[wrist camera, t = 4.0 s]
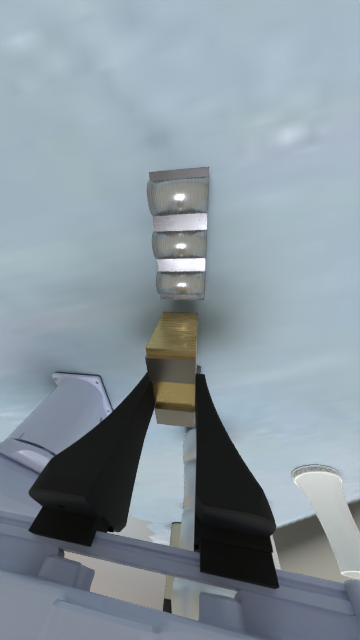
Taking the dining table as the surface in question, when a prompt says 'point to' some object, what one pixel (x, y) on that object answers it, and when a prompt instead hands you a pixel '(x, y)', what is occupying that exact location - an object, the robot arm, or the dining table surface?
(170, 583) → the travel mug
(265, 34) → the dining table surface
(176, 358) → the gold block
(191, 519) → the plastic bottle
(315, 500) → the vase
